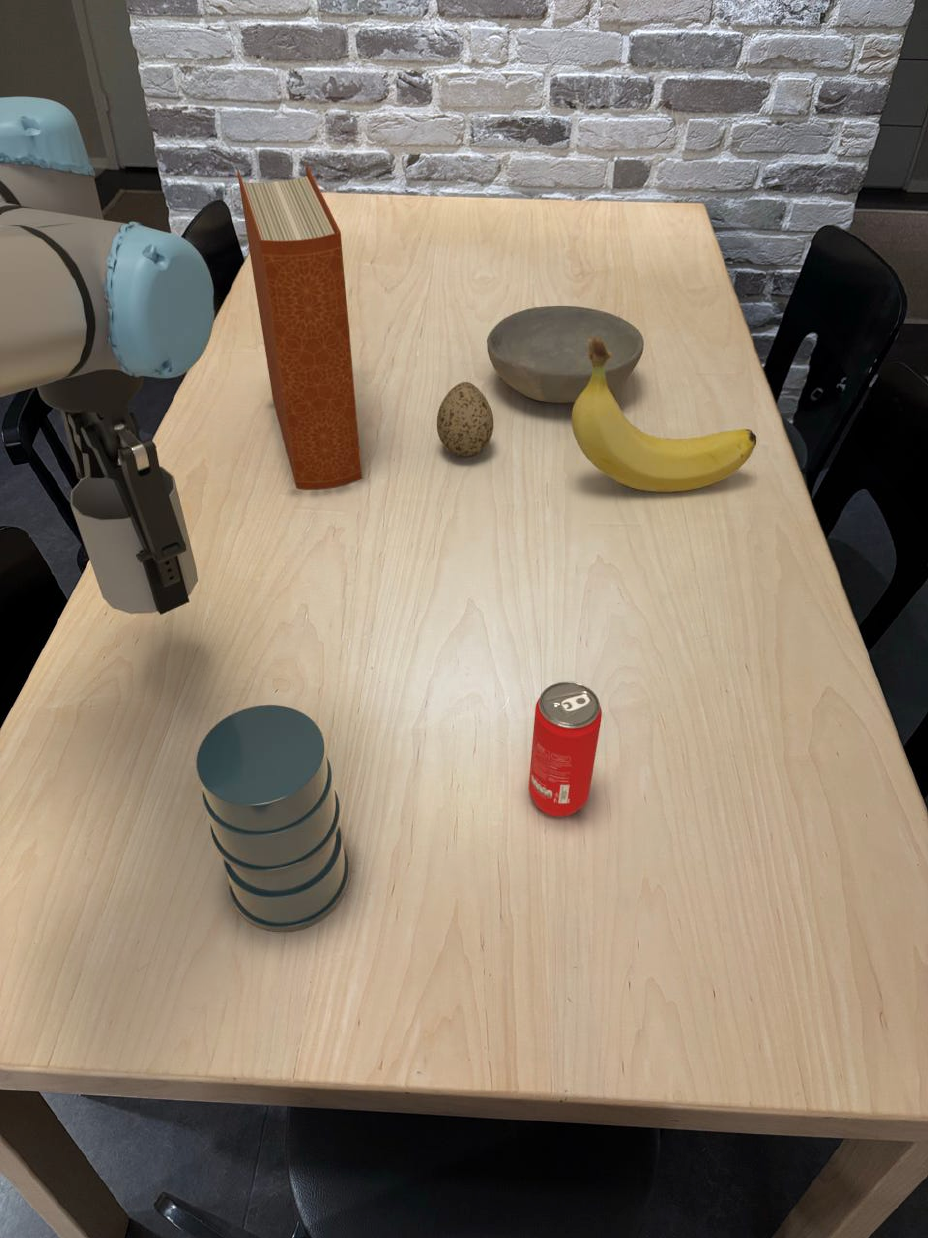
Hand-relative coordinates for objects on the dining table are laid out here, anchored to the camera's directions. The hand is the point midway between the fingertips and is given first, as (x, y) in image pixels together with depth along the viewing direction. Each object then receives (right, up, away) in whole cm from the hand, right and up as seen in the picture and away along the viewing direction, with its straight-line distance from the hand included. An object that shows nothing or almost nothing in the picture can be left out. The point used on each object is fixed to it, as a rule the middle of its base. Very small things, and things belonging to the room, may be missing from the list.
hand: (149, 579), depth 82 cm
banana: (+52, +13, +31) cm, 62 cm away
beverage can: (+36, -19, -3) cm, 41 cm away
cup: (0, 0, 0) cm, 1 cm away
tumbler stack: (+14, -24, -9) cm, 29 cm away
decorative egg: (+28, +18, +36) cm, 49 cm away
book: (+9, +20, +38) cm, 44 cm away
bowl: (+42, +29, +48) cm, 70 cm away
